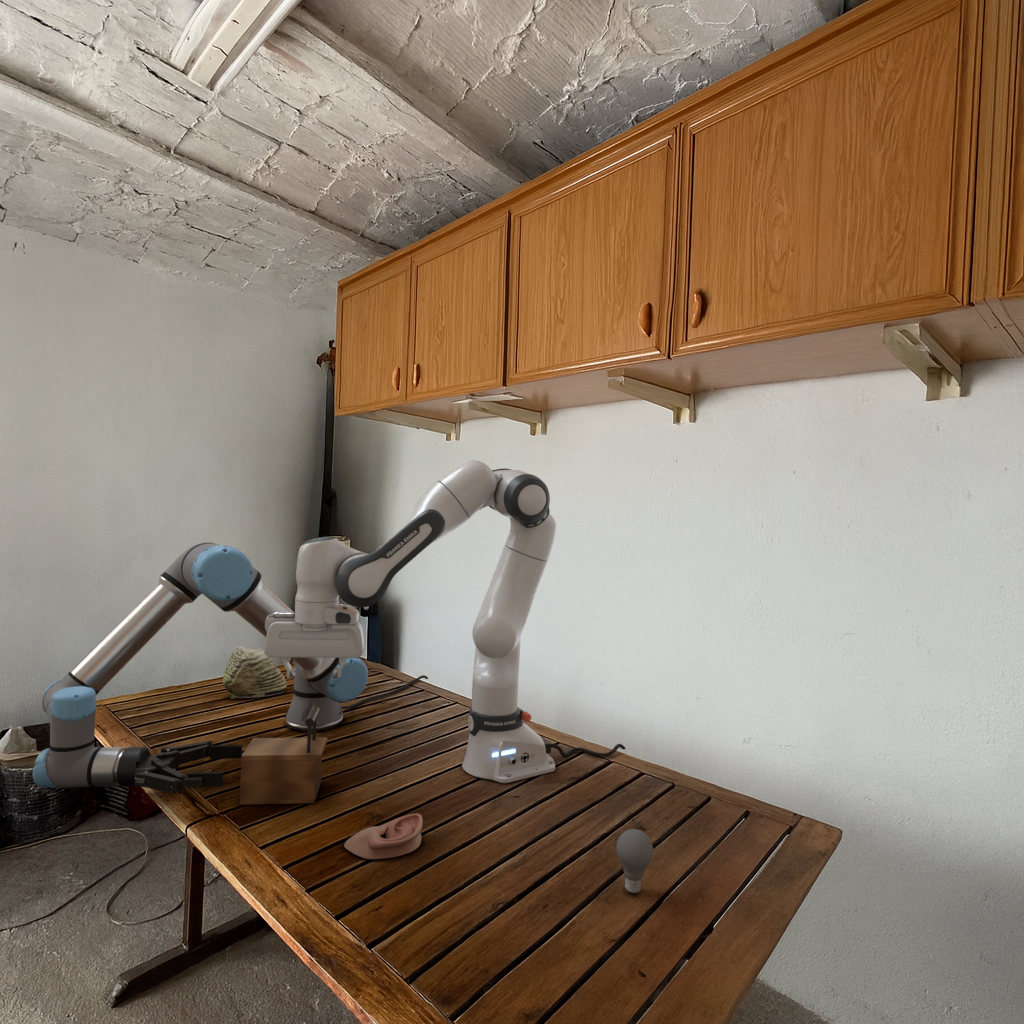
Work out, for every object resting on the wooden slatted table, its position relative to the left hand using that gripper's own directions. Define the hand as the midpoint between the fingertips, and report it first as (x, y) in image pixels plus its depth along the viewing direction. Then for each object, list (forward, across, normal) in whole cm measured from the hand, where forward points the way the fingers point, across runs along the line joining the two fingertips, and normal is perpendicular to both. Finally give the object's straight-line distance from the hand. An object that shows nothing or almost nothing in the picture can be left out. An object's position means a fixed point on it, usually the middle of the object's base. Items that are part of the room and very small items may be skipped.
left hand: (232, 764), depth 133 cm
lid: (+10, -1, +2) cm, 11 cm away
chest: (+10, 0, -6) cm, 12 cm away
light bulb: (+74, +38, -6) cm, 84 cm away
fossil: (-12, -68, -6) cm, 69 cm away
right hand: (+16, -1, +18) cm, 24 cm away
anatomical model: (+33, +21, -6) cm, 39 cm away
